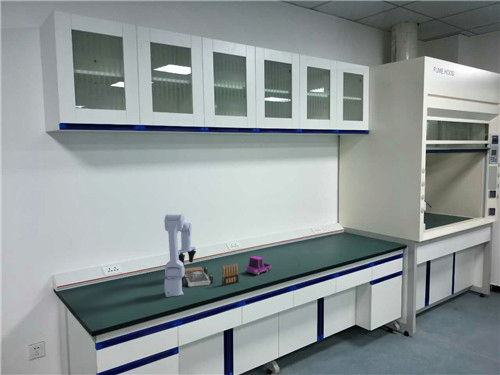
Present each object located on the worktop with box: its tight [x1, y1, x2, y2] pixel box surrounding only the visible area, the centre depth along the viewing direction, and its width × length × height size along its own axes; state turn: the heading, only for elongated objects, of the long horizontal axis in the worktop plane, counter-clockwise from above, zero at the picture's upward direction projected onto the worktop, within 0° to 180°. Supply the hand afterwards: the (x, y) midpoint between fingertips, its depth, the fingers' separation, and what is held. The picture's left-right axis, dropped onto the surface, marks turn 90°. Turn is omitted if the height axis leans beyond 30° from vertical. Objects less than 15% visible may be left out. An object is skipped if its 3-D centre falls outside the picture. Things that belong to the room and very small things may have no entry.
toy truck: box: [244, 255, 273, 276], centre depth 264 cm, size 11×16×10 cm
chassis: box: [183, 266, 214, 288], centre depth 250 cm, size 17×24×5 cm
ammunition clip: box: [221, 262, 240, 287], centre depth 241 cm, size 11×2×12 cm, turn 125°
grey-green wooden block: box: [192, 271, 202, 282], centre depth 246 cm, size 4×5×5 cm
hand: (186, 263), depth 251 cm, fingers open, 7 cm apart
